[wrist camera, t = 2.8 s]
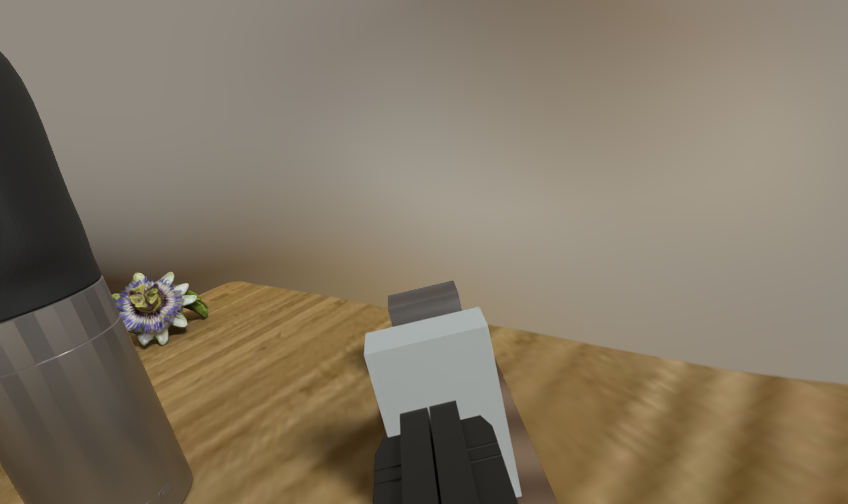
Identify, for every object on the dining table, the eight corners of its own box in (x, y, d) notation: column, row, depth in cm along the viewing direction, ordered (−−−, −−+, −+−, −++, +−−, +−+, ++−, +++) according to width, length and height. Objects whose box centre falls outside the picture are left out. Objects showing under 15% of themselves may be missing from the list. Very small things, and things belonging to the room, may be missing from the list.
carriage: (523, 500, 27) (489, 328, 23) (376, 535, 27) (322, 367, 23) (492, 412, 35) (463, 273, 31) (379, 438, 34) (338, 303, 31)
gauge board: (581, 569, 24) (560, 437, 21) (388, 616, 24) (345, 488, 21) (490, 354, 45) (475, 275, 42) (388, 378, 45) (366, 301, 42)
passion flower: (179, 375, 68) (100, 342, 60) (156, 346, 76) (83, 312, 67) (229, 310, 71) (160, 270, 63) (202, 288, 78) (137, 249, 70)
